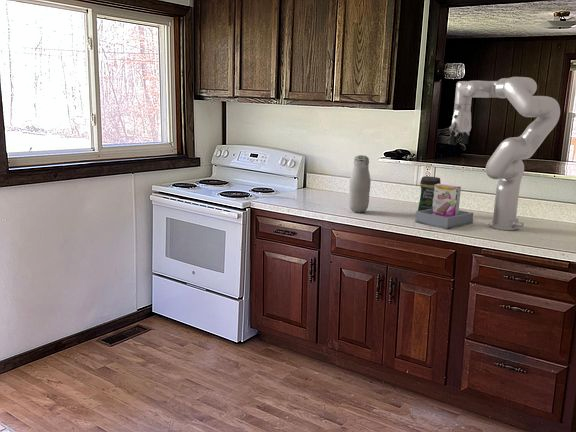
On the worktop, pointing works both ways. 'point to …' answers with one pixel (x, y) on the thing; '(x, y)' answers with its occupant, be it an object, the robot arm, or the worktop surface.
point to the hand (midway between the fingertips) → (459, 144)
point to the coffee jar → (427, 192)
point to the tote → (444, 219)
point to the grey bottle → (359, 184)
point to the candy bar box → (446, 200)
